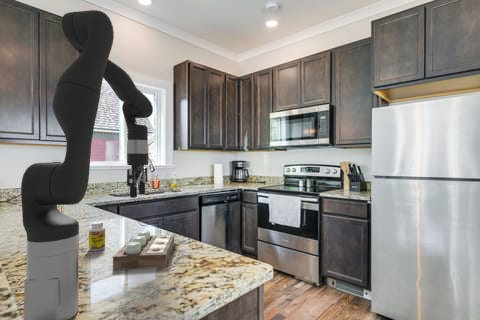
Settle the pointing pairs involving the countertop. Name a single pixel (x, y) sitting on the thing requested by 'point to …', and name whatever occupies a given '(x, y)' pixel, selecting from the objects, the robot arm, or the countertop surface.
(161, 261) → the brown wooden tray
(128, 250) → the button near
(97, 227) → the supplement bottle
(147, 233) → the button far
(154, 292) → the countertop surface
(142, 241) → the button middle
